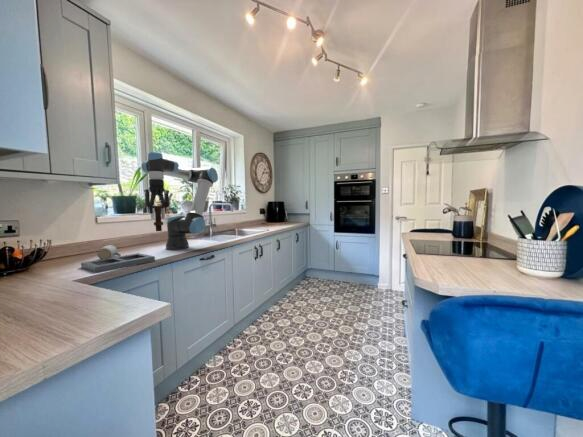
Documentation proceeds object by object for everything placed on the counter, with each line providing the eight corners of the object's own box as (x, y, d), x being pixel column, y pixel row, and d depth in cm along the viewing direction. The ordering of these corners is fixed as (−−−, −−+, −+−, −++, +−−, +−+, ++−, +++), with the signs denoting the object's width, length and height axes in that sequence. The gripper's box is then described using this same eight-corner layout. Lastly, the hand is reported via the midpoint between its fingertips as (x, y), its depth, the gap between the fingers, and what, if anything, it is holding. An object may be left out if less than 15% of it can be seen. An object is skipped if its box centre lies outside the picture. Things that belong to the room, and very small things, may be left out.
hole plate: (138, 257, 145) (138, 253, 145) (154, 260, 135) (154, 256, 135) (81, 267, 123) (80, 262, 123) (95, 272, 113) (95, 267, 112)
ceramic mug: (96, 260, 138) (95, 247, 138) (103, 257, 146) (102, 245, 146) (117, 259, 141) (117, 246, 141) (123, 256, 149) (122, 244, 149)
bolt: (159, 231, 140) (157, 205, 139) (151, 231, 141) (150, 205, 140) (166, 230, 145) (164, 205, 145) (158, 230, 146) (157, 205, 146)
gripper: (168, 181, 151) (169, 218, 152) (136, 178, 136) (138, 219, 137) (175, 180, 147) (176, 218, 148) (142, 177, 132) (145, 219, 133)
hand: (158, 218), depth 143 cm, fingers closed on bolt, 5 cm apart
